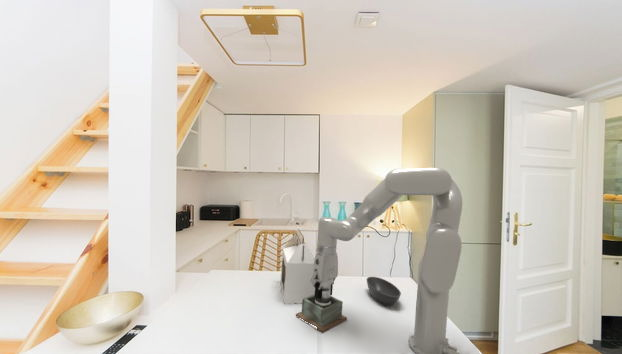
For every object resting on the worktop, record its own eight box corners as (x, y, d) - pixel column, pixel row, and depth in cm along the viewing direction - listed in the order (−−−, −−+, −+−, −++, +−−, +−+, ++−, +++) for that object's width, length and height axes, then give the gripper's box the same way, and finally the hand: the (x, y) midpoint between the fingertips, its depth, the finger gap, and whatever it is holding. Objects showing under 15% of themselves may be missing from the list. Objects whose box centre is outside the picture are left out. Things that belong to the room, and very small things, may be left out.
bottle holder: (346, 320, 103) (348, 302, 103) (322, 333, 93) (323, 313, 93) (320, 305, 113) (321, 289, 113) (295, 316, 103) (297, 298, 103)
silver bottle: (329, 318, 99) (333, 264, 99) (311, 315, 100) (315, 262, 100) (331, 309, 105) (335, 259, 105) (315, 307, 107) (318, 257, 107)
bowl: (381, 312, 111) (382, 297, 111) (359, 289, 133) (360, 277, 133) (407, 310, 114) (408, 296, 114) (381, 288, 136) (382, 276, 135)
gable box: (280, 282, 134) (284, 227, 134) (306, 282, 136) (310, 228, 136) (284, 304, 112) (288, 238, 112) (314, 303, 114) (319, 239, 114)
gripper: (318, 255, 94) (314, 306, 94) (347, 248, 106) (344, 293, 106) (303, 250, 99) (300, 298, 99) (333, 244, 111) (330, 287, 111)
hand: (323, 295), depth 103 cm, fingers closed on silver bottle, 5 cm apart
